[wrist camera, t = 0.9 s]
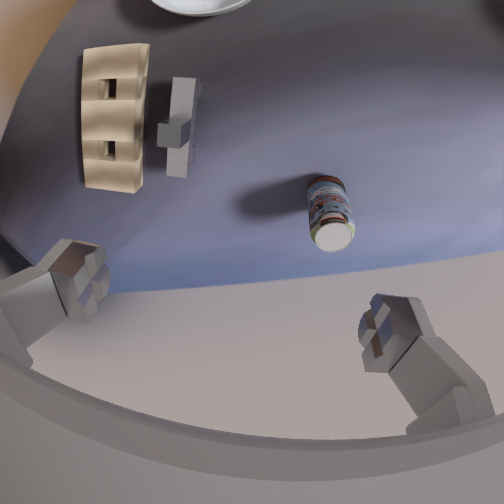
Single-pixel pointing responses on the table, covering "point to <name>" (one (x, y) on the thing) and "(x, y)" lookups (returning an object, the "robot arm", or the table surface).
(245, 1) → the cereal bowl
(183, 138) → the gray u-shaped bracket
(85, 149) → the beige flat rectangular block
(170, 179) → the table surface
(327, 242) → the beverage can
